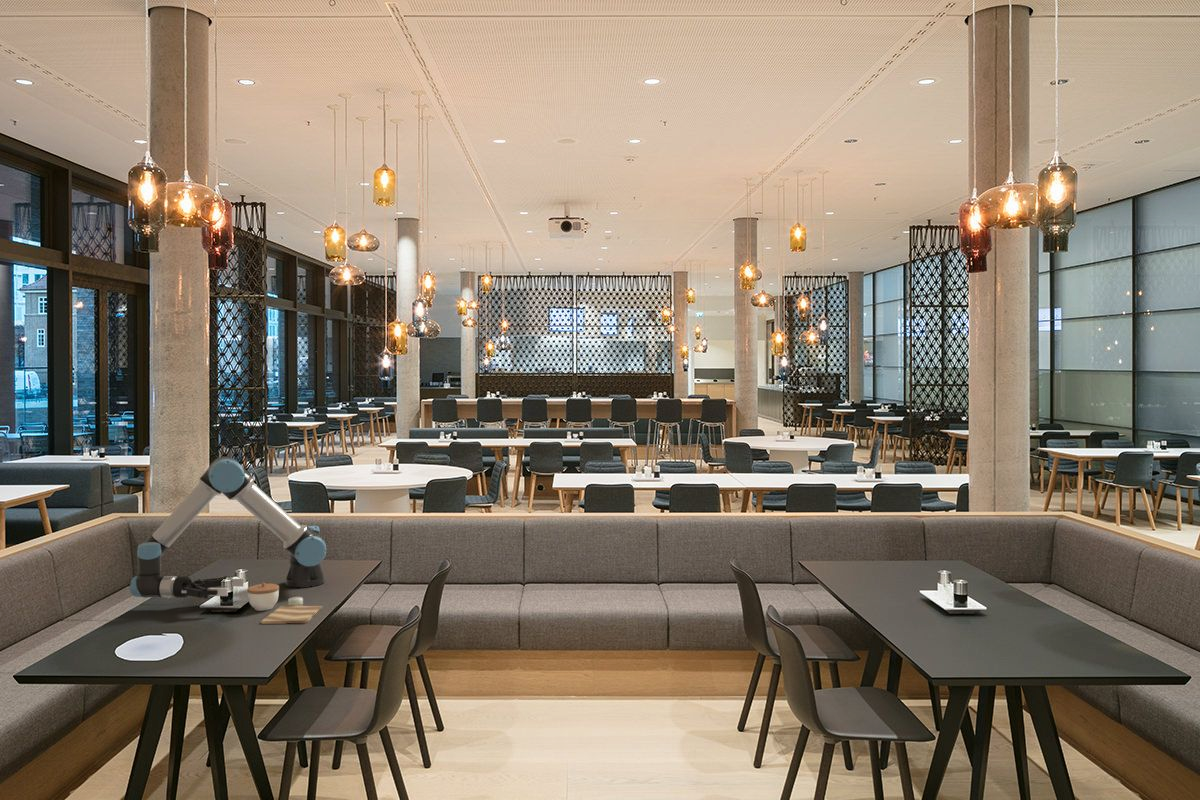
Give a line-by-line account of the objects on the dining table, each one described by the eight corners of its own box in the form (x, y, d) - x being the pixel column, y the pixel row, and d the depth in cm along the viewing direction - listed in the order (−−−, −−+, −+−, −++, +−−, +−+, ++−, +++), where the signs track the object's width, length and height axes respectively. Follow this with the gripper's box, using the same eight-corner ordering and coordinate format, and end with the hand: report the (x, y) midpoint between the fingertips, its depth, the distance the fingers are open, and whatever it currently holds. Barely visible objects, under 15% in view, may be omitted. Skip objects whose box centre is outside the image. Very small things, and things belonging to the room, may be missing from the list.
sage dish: (291, 604, 319) (291, 596, 319) (305, 604, 319) (304, 596, 319) (286, 608, 314) (286, 600, 314) (300, 608, 314) (300, 600, 314)
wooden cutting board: (280, 608, 314) (280, 606, 314) (322, 608, 314) (322, 605, 314) (261, 623, 296) (261, 620, 296) (305, 623, 296) (305, 620, 296)
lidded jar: (268, 613, 309) (268, 587, 308) (241, 611, 311) (240, 585, 310) (285, 605, 319) (284, 579, 319) (259, 603, 321) (258, 578, 321)
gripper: (192, 588, 327) (249, 588, 327) (159, 606, 302) (220, 606, 302) (192, 568, 327) (249, 569, 327) (159, 585, 302) (220, 585, 302)
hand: (235, 587), depth 315 cm, fingers open, 13 cm apart
